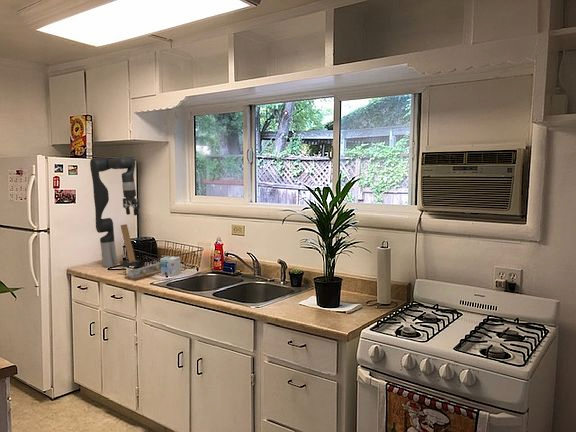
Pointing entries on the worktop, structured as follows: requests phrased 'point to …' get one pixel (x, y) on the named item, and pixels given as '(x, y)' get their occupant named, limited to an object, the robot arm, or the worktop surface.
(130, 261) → the hammer
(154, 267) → the spanner
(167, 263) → the light bulb box
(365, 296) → the worktop surface
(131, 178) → the robot arm
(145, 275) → the tool board
